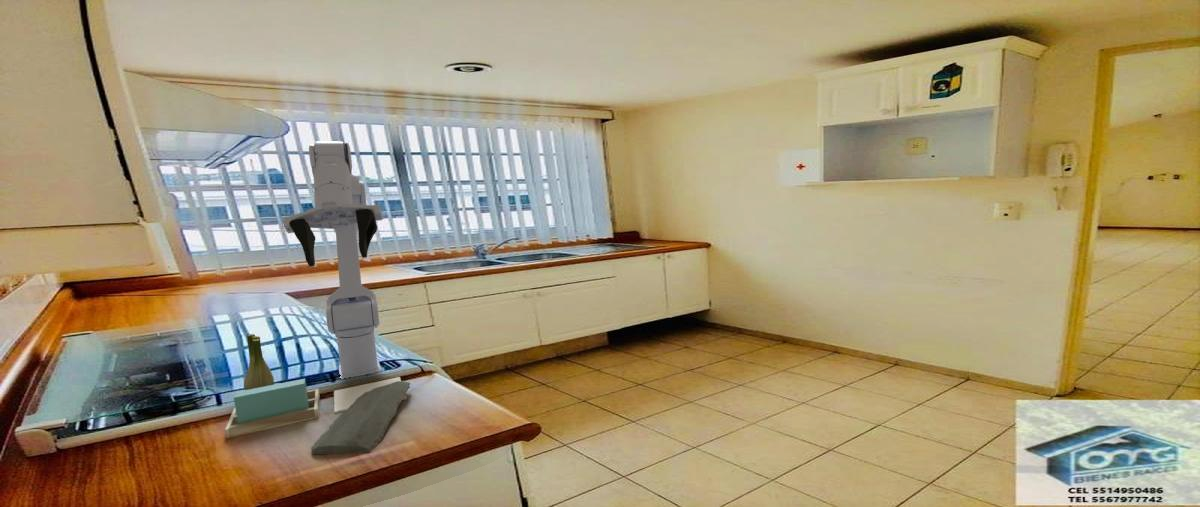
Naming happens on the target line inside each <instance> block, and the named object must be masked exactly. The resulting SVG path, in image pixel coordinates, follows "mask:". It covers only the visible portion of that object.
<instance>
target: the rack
mask: <svg viewBox="0 0 1200 507" xmlns="http://www.w3.org/2000/svg"><path fill="white" fill-rule="evenodd" d="M307 396H308V403H309V408H308V409H304V410H299V411H295V412H290V413H286V414H281V415H277V416H272V417H268V418H263V419H259V420H255V421H250V422H246V423H241V424H238V421H237V415H236V409H235V407H234V408H233V410H232V413H231V415H230V417H229V420H228V422H227V424H226V427H225V428H224V432H225V438H226V440H227V439H230V438H234V437H235V438H236V437H240V436H243V435H248V434H252V433H256V432H261V431H265V430H269V429H274V428H279V427H283V426H287V425H291V424H295V423H299V422H303V421H304V422H305V421H308V420H312V419H317V418H319V414H320V397H321V396H320V389H319V388H315V389H309V390H307Z"/></svg>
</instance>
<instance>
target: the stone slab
mask: <svg viewBox="0 0 1200 507" xmlns="http://www.w3.org/2000/svg"><path fill="white" fill-rule="evenodd" d="M410 385H411V382H408V381H402V380H401V381H397V382H394V383H391V384H388V385H384V386H381V387H377V388H375V389H372V390H371V391H368V392H365V393H364V394H363V395H361V396H360V397H358V398H357V399H356V401H355V402H354V403H353V404H352V405H351V406H350V407H349V408H348V409H347V410H346V411H343V412H341V414H340V415H339V416H338V417H337V418H336V419H335V420H334V421H333V423H332V424H330V425H329V427H328V429H327V430H326V431H325V432H324V433H322V434H321V435H320V437H319V438H318V439H317V440H316V441H314V443H313V445H312V446H311V447H310V451H311V453H312V454H316V455H336V454H352V453H367V454H371V453H372V450H373V449H375V448H376V447H378V445H379V444H380V443H381V442H382V440H383V438H384V437H385V433H386V430H387V429H388V426H389V425H390V422H391V421H392V419H393V417H394V416H395V415H396V414H397V412H398V411H397V410H398V407H399V405H400V404H401V403H402V401H403V400H402V399H403V397H404V395H405V393H406V394H407V392H408V390H409V389H410V388H411V386H410Z"/></svg>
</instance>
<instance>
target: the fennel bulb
mask: <svg viewBox="0 0 1200 507" xmlns="http://www.w3.org/2000/svg"><path fill="white" fill-rule="evenodd" d="M246 339H247V346H248V356H249V363H248V369H247V371H246V374H245V376H244V382H243V388H244V390H249V389H254V388H260V387H265V386H270V385H275V382H274V381H275V379H274V375H273V373H272V370H271V368H270V366H269V365H268V364H267V362H266V360H265V359H264V356H263V352H262V344H261V336H259V335H258V336H256V335H255V333H251V334H247V336H246Z"/></svg>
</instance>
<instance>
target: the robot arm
mask: <svg viewBox="0 0 1200 507" xmlns="http://www.w3.org/2000/svg"><path fill="white" fill-rule="evenodd" d="M351 153H352V152H351V146H350V144H349V142H348V141H347V142H344V141H314V142H313V144H309V145H308V155H309V163H310V168H311V173H312V177H313V194H314V195H313V198H314V207H312V208H309V209H307V210H304V211H301V212H298V213H297V214H294V215H289V216H285V217H283V228H284V230H285V231H286V233H287V234H293V233H294V235H295V237H296V239H297V241H298V242H299V243H300V245H301V248H302V250H303V254H304V257H305V258H304V259H305V261H306V264H308V267H311V268H312V267H315V266H316V259H315V258H316V257H315V243H316V235H315V234H314V231H313V230H312V229H326V230H331V229H332V230H333V231H334V233H335V241H336V254H337V255H336V256H337V266H338V268H337V269H338V281H339V282H338V284H339V287H338V289H336V290H335V291H333V292H332V293H331V294H330V295H329V296H328V297H327V299H326V308H325V318H326V326H327V331H328V332H329V333H330V334H331V335H335V338H336V341H337V342H336V343H337V348H338V357H339V364H338V372H339V373H338V375H339V374H340V375H341V376H340V377H339V376H338V378H341V379H340V380H344V378H346V379H350V378H349V377H351V378H355V376H356V377H361V376H366V375H370V374H374V373H380V372H381V371H382V368H381V365H380V362H379V358H378V356H377V347H376V338H375V328H378V326H380V317H379V307H378V301H377V296H376V293H374V291H373V290H371V289H369V288H367V287H365V286H364V285H362V279H361V278H362V277H361V276H362V275H361V267H360V257H359V256H360V255H361V258H362V259H365V258H368V251H369V247H370V244H371V242H372V239H373V238H374V236H375V234H376V233H377V231H378V224H377V221H383V220H384V219H383V212H382V208H381V205H380V204H367V195H366V188H365V183H364V181H362V180H361V178H360V176H356V175H355V174H354V175H353V174H352V171H353V162H352V154H351Z"/></svg>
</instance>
